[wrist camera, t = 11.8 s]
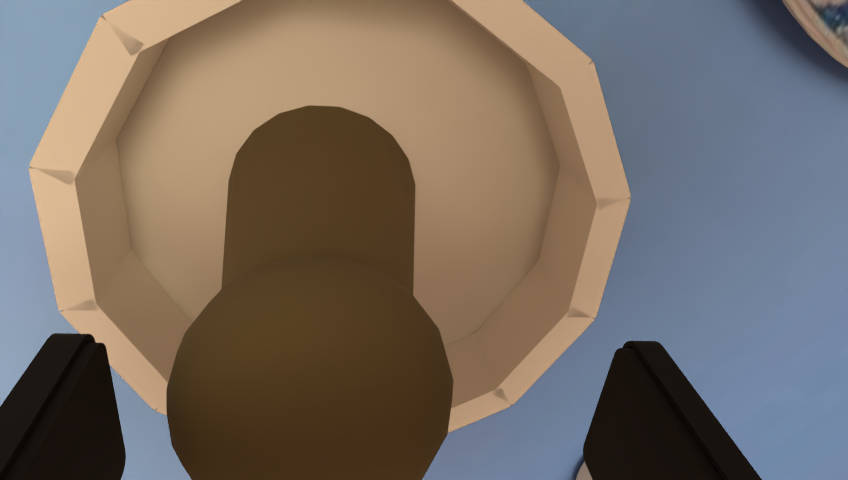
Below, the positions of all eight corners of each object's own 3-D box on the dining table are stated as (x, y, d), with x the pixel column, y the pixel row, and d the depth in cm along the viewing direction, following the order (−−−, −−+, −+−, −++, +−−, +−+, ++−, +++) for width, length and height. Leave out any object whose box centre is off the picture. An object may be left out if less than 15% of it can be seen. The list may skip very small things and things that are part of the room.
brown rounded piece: (324, 304, 21) (314, 619, 11) (187, 193, 18) (26, 480, 9) (451, 198, 20) (561, 453, 10) (324, 62, 17) (310, 233, 8)
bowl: (625, -31, 18) (695, -21, 14) (526, 376, 25) (557, 448, 22) (54, -101, 15) (-30, -109, 12) (128, 377, 22) (90, 461, 19)
